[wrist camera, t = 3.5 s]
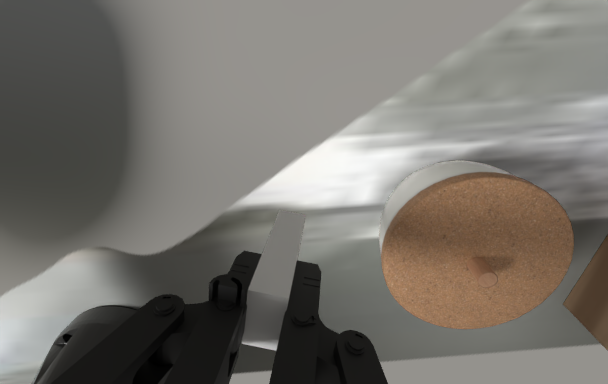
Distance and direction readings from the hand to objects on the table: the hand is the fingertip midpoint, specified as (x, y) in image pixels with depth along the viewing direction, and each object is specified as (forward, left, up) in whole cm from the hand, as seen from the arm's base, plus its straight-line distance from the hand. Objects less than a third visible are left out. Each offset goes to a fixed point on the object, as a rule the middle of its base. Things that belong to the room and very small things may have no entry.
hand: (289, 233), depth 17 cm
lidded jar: (+11, 0, -9) cm, 14 cm away
